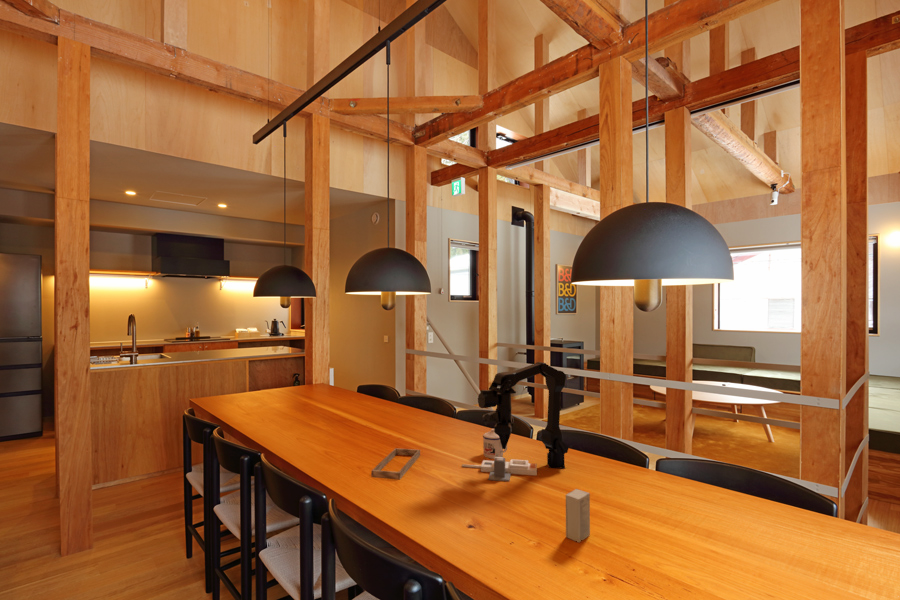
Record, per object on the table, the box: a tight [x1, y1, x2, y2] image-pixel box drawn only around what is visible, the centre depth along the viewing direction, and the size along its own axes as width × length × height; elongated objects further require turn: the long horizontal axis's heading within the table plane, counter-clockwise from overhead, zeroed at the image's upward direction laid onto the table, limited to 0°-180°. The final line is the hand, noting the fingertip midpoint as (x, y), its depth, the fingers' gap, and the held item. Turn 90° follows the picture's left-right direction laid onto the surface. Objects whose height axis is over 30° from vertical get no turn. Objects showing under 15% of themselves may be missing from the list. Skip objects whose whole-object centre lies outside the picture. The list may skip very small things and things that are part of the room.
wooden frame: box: [370, 447, 421, 480], centre depth 183 cm, size 12×29×2 cm, turn 168°
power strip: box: [461, 456, 538, 476], centre depth 179 cm, size 30×8×4 cm, turn 78°
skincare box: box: [565, 488, 591, 543], centre depth 125 cm, size 6×4×12 cm
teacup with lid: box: [482, 428, 508, 459], centre depth 195 cm, size 12×9×12 cm
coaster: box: [487, 471, 512, 482], centre depth 171 cm, size 8×8×1 cm
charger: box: [493, 457, 506, 477], centre depth 171 cm, size 4×4×6 cm
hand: (504, 445), depth 173 cm, fingers open, 9 cm apart
